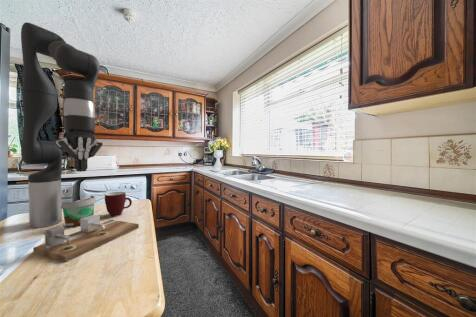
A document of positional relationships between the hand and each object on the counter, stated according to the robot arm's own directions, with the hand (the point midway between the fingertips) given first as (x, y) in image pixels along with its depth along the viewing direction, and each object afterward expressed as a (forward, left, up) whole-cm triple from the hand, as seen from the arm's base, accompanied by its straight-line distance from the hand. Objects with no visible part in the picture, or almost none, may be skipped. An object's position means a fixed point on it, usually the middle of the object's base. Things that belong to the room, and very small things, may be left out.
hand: (81, 171), depth 60 cm
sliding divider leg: (-1, +5, -21) cm, 21 cm away
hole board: (0, +4, -23) cm, 23 cm away
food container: (-17, +12, -23) cm, 31 cm away
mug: (-14, +25, -23) cm, 37 cm away
